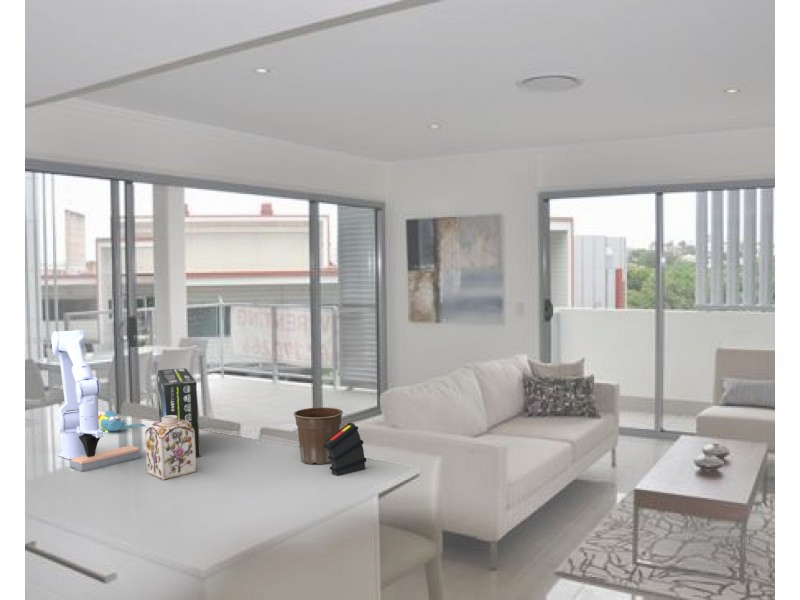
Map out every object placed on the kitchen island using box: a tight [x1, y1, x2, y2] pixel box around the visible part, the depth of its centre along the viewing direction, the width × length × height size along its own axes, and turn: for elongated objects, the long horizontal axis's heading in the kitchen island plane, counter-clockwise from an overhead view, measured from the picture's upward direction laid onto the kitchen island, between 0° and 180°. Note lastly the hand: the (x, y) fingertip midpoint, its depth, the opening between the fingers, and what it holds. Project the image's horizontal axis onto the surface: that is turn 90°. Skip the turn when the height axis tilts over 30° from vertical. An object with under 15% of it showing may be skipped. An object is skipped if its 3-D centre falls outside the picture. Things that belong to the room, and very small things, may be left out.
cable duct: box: [69, 451, 141, 473], centre depth 236 cm, size 8×20×2 cm, turn 139°
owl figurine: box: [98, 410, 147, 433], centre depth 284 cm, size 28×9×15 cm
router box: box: [156, 368, 201, 458], centre depth 253 cm, size 36×11×27 cm, turn 23°
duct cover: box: [70, 445, 140, 464], centre depth 235 cm, size 7×20×1 cm, turn 139°
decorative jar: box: [144, 415, 197, 481], centre depth 222 cm, size 12×12×18 cm
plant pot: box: [293, 406, 344, 465], centre depth 233 cm, size 16×16×16 cm
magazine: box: [324, 422, 367, 476], centre depth 218 cm, size 4×13×15 cm, turn 127°
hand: (90, 456), depth 232 cm, fingers closed
